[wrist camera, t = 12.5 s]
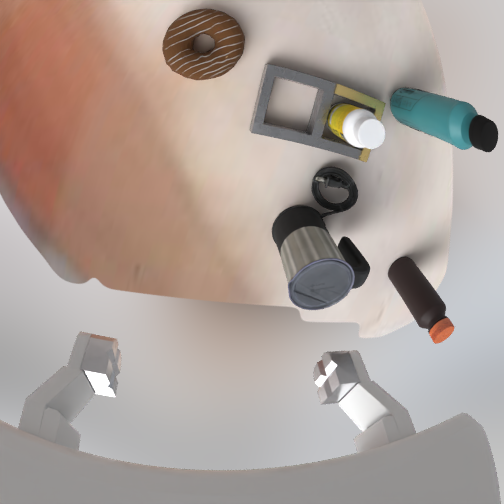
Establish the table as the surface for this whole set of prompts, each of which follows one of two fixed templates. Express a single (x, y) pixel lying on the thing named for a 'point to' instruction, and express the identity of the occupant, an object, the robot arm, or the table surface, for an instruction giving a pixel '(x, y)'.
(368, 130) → the supplement bottle
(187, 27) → the donut
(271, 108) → the table surface
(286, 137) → the grey compartment tray
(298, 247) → the milk frother
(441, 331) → the vinegar
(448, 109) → the beverage bottle
